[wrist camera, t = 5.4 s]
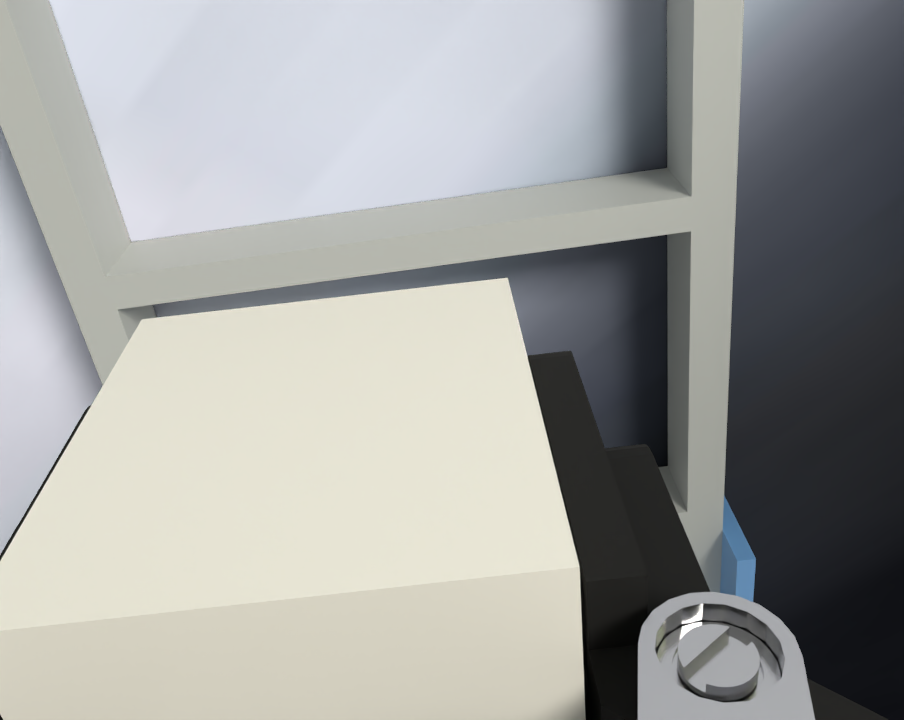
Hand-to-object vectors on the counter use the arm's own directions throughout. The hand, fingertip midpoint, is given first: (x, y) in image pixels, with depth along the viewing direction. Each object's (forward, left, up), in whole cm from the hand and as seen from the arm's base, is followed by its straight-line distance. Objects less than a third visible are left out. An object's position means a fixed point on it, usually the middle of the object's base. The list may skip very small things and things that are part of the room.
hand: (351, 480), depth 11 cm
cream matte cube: (0, 0, -1) cm, 1 cm away
